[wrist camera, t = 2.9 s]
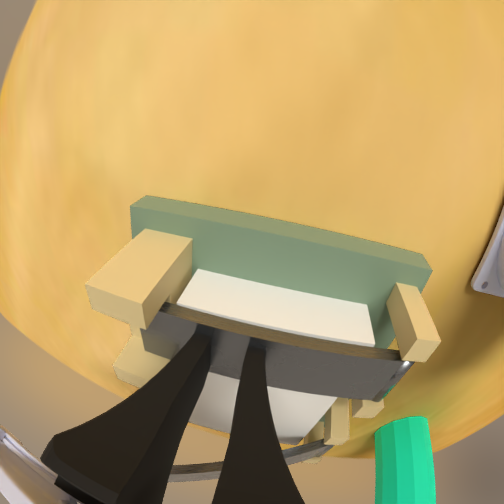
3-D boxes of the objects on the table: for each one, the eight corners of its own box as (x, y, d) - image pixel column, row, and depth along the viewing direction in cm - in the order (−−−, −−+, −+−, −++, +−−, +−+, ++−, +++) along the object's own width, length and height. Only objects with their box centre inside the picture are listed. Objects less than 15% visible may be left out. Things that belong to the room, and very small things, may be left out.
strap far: (335, 432, 14) (340, 442, 13) (320, 446, 15) (324, 455, 15) (152, 464, 11) (154, 476, 10) (160, 473, 12) (162, 483, 12)
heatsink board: (422, 254, 11) (471, 342, 6) (320, 417, 20) (315, 477, 15) (146, 195, 13) (63, 253, 8) (166, 383, 21) (141, 437, 16)
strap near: (413, 350, 9) (417, 364, 9) (381, 389, 11) (383, 402, 10) (143, 292, 10) (134, 305, 10) (151, 340, 12) (143, 351, 11)
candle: (384, 443, 22) (383, 531, 12) (365, 430, 21) (362, 535, 10) (431, 425, 20) (439, 517, 9) (421, 409, 18) (430, 521, 8)
